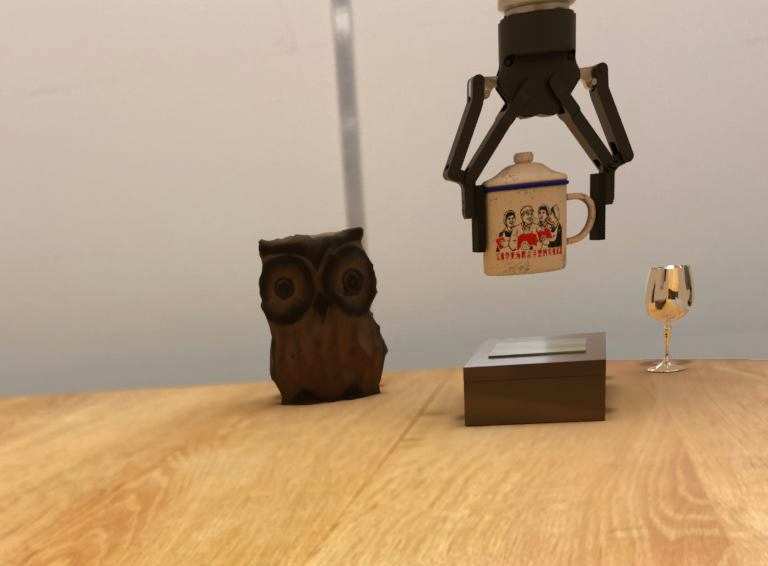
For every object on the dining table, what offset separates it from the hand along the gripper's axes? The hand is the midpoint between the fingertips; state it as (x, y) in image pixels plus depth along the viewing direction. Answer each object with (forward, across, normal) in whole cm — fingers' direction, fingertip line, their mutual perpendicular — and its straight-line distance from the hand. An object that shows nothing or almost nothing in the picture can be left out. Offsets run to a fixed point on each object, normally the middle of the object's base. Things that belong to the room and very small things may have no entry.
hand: (538, 246), depth 112 cm
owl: (+17, -21, +22) cm, 35 cm away
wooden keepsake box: (+17, 0, 0) cm, 17 cm away
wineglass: (+17, +20, +14) cm, 29 cm away
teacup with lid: (+3, 0, 0) cm, 3 cm away
